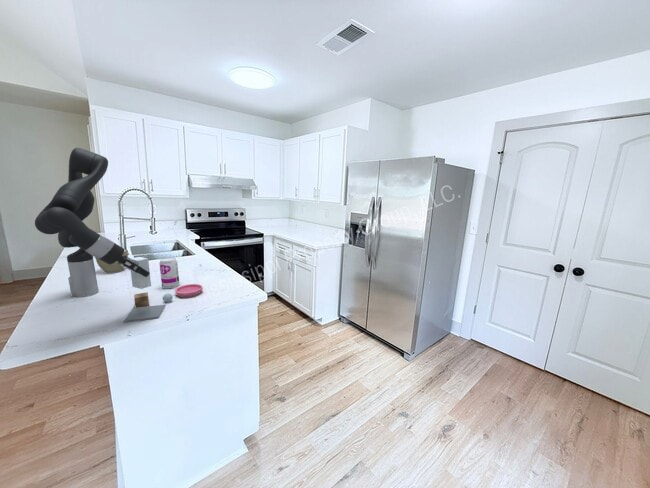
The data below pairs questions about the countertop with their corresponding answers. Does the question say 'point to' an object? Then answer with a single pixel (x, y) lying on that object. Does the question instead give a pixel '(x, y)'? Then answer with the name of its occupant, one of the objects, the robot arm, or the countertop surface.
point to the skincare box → (137, 278)
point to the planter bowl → (111, 265)
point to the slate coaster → (145, 313)
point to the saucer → (189, 290)
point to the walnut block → (141, 300)
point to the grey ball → (167, 297)
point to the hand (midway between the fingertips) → (145, 273)
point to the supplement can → (169, 272)
